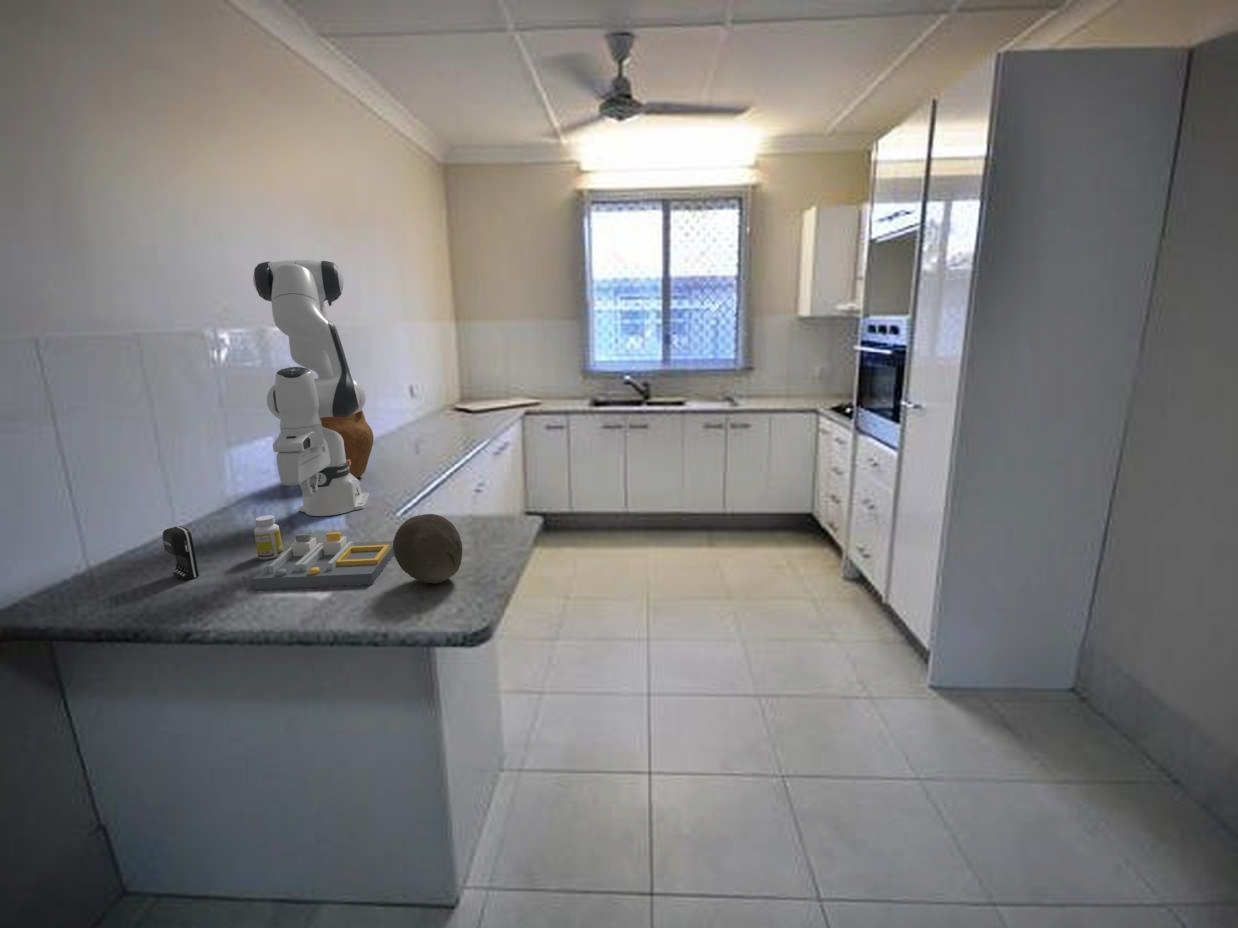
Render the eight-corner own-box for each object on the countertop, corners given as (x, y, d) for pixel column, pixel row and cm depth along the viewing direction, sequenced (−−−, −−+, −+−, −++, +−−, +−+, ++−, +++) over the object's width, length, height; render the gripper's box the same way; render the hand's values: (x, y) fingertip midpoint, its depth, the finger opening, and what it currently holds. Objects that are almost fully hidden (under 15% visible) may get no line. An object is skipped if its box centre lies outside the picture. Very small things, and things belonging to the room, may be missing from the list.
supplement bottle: (277, 550, 156) (271, 512, 154) (287, 554, 153) (281, 516, 151) (254, 556, 152) (248, 518, 150) (263, 561, 149) (257, 522, 147)
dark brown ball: (460, 564, 145) (455, 503, 141) (469, 588, 132) (463, 521, 128) (396, 574, 140) (389, 510, 136) (398, 600, 127) (391, 531, 124)
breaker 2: (330, 548, 149) (328, 530, 148) (347, 548, 149) (345, 529, 148) (324, 555, 145) (321, 536, 144) (341, 554, 145) (339, 535, 144)
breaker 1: (300, 550, 149) (297, 531, 148) (317, 549, 149) (315, 531, 148) (293, 556, 145) (290, 537, 144) (310, 555, 145) (308, 536, 144)
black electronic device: (168, 576, 142) (158, 528, 139) (187, 570, 145) (177, 523, 142) (181, 583, 138) (171, 534, 135) (200, 577, 141) (191, 529, 138)
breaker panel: (294, 554, 153) (291, 538, 152) (398, 550, 155) (396, 534, 154) (253, 589, 134) (250, 571, 133) (372, 584, 135) (370, 566, 134)
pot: (389, 471, 234) (381, 391, 227) (357, 488, 211) (346, 400, 204) (328, 470, 237) (318, 391, 230) (290, 488, 213) (277, 400, 206)
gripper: (307, 429, 157) (314, 482, 161) (268, 446, 138) (277, 506, 141) (333, 429, 158) (339, 481, 161) (298, 445, 138) (306, 505, 141)
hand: (310, 493), depth 151 cm, fingers closed
